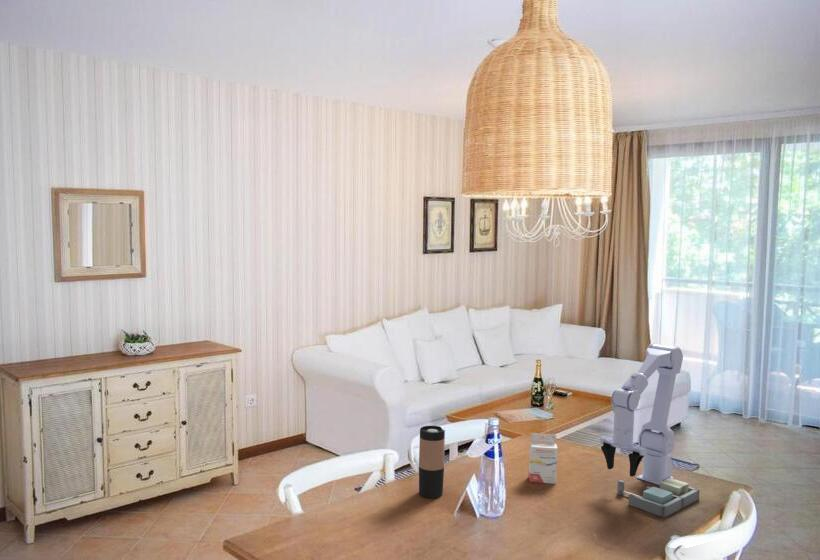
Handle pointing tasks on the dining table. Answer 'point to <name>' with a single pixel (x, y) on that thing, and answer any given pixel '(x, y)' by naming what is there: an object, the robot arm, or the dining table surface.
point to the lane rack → (669, 507)
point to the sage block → (674, 486)
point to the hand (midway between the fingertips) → (621, 472)
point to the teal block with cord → (648, 493)
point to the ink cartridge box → (543, 459)
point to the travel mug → (431, 461)
